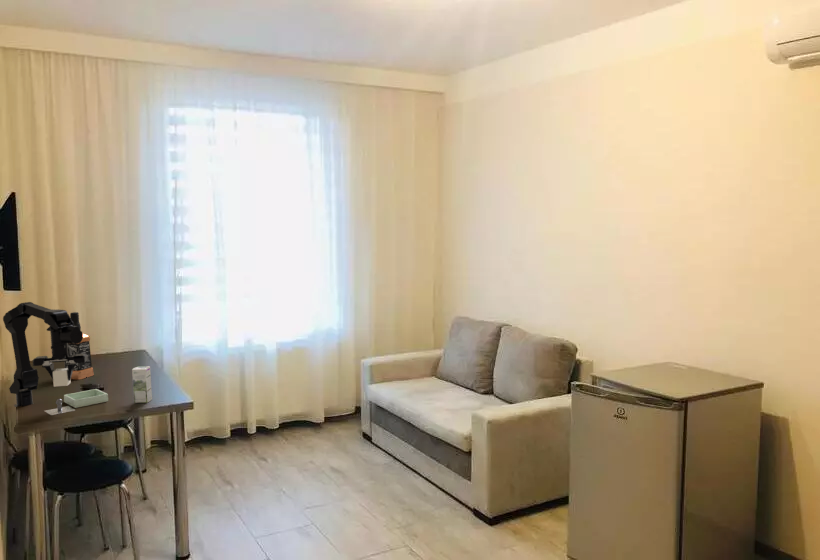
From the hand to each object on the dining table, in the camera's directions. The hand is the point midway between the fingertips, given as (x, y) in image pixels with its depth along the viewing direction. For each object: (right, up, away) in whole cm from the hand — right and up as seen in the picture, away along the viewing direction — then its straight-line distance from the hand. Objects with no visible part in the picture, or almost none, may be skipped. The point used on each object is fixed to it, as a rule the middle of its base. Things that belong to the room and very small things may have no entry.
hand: (62, 380), depth 265 cm
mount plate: (0, -13, -1) cm, 13 cm away
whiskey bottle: (-24, -8, +62) cm, 67 cm away
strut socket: (0, -2, 0) cm, 2 cm away
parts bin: (+4, -11, +12) cm, 17 cm away
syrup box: (+27, -11, +13) cm, 32 cm away
